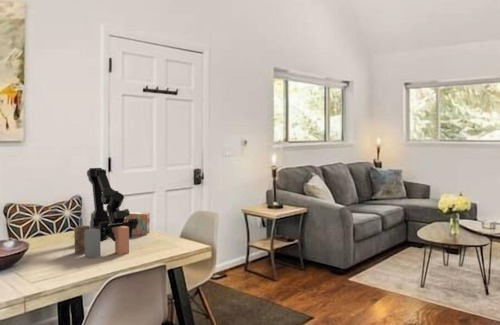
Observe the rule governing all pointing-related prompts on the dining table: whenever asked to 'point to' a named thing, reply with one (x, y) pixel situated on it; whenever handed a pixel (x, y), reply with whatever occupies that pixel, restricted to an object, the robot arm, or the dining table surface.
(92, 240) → the slate grey block
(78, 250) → the walnut block
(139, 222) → the stack of blocks
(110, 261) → the dining table surface
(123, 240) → the terracotta block
